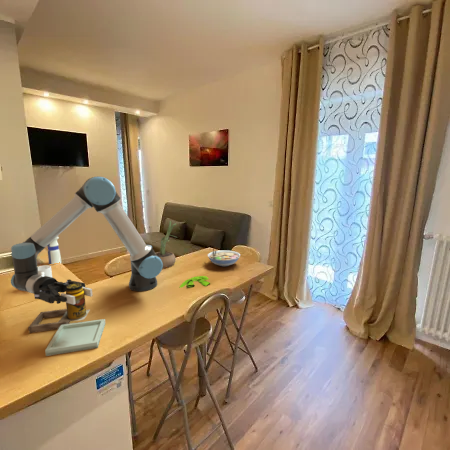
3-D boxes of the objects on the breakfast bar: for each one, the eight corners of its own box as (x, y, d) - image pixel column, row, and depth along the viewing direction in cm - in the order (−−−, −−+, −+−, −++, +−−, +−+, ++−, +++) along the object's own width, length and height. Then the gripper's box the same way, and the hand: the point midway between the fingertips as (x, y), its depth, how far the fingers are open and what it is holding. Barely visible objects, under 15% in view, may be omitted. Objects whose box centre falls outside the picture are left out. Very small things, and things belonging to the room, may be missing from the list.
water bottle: (44, 264, 181) (40, 229, 176) (56, 260, 189) (52, 227, 184) (52, 265, 178) (48, 230, 173) (64, 262, 185) (60, 228, 181)
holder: (75, 313, 115) (74, 307, 115) (66, 327, 104) (66, 322, 103) (41, 317, 112) (40, 311, 111) (29, 333, 100) (28, 327, 100)
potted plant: (160, 271, 167) (158, 225, 162) (146, 265, 179) (143, 222, 174) (187, 262, 184) (186, 221, 178) (172, 257, 196) (171, 218, 190)
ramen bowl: (241, 271, 167) (241, 259, 165) (206, 271, 167) (205, 259, 166) (239, 259, 191) (239, 248, 190) (208, 259, 192) (208, 248, 190)
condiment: (84, 320, 92) (80, 288, 90) (57, 322, 90) (53, 290, 88) (90, 310, 99) (87, 280, 97) (66, 312, 97) (62, 282, 95)
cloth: (208, 275, 161) (208, 272, 160) (218, 290, 140) (218, 285, 140) (175, 279, 155) (175, 276, 154) (181, 295, 134) (181, 290, 134)
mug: (34, 293, 135) (31, 273, 133) (34, 285, 145) (32, 267, 143) (53, 289, 140) (51, 270, 138) (52, 282, 150) (50, 264, 148)
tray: (105, 323, 106) (104, 318, 106) (97, 347, 91) (97, 342, 91) (61, 329, 102) (61, 324, 102) (46, 356, 87) (45, 350, 87)
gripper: (67, 285, 110) (106, 295, 101) (16, 305, 93) (57, 319, 84) (65, 268, 109) (104, 277, 99) (13, 285, 92) (55, 297, 82)
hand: (83, 296), depth 92 cm, fingers closed on condiment, 6 cm apart
